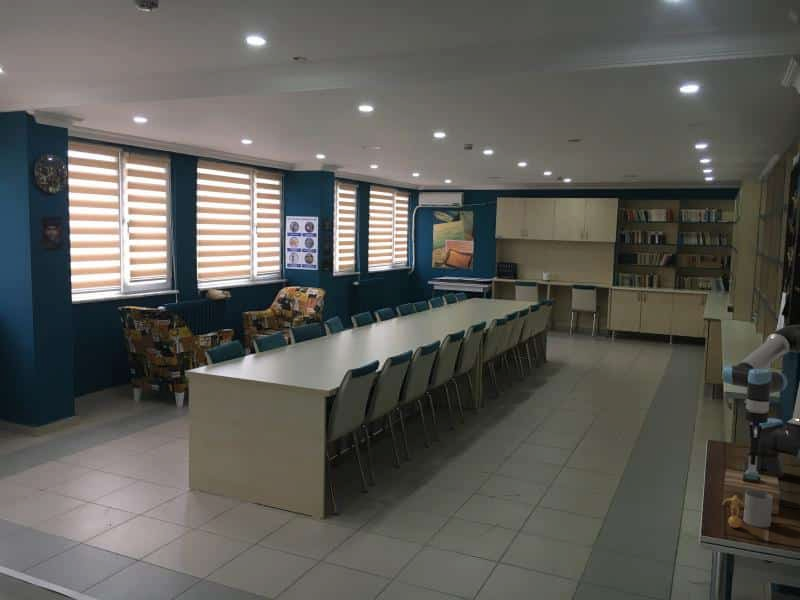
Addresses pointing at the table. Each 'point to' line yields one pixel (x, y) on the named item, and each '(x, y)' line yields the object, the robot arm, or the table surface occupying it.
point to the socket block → (750, 487)
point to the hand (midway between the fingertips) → (751, 472)
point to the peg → (751, 475)
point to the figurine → (735, 520)
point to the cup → (758, 508)
